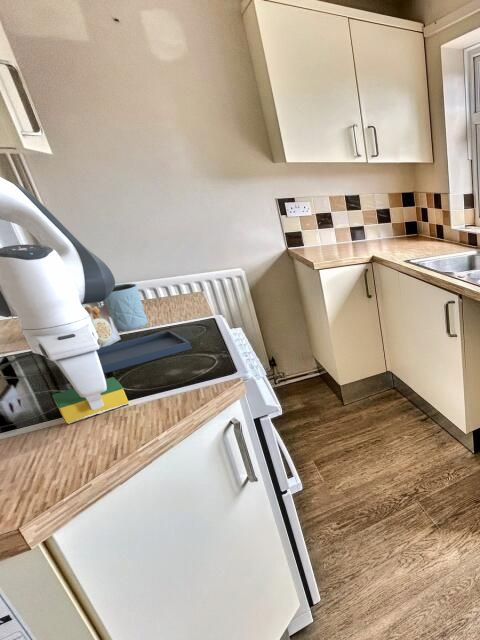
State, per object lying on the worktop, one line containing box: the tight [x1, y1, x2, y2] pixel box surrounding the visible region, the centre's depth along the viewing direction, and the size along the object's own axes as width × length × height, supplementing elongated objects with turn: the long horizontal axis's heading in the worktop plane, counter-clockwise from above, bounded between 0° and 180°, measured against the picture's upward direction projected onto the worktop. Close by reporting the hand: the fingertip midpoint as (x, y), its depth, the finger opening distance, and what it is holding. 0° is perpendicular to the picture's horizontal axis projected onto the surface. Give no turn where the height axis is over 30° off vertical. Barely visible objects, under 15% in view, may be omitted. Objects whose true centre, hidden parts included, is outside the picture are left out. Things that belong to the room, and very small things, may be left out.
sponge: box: [51, 376, 130, 424], centre depth 82 cm, size 9×6×4 cm, turn 143°
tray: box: [96, 330, 192, 374], centre depth 106 cm, size 23×15×2 cm, turn 143°
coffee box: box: [82, 300, 122, 348], centre depth 110 cm, size 9×6×16 cm
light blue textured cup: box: [105, 283, 149, 332], centre depth 126 cm, size 10×10×12 cm
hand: (93, 401), depth 82 cm, fingers closed on sponge, 6 cm apart
